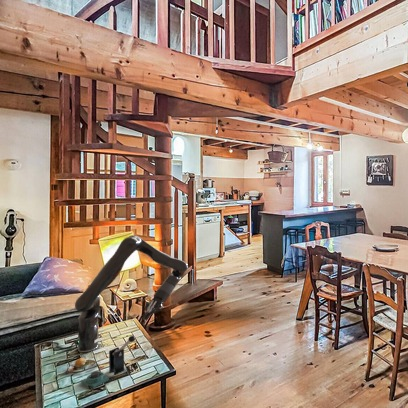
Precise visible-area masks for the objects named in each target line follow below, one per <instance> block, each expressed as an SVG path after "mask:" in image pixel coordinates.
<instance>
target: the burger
mask: <svg viewBox="0 0 408 408" xmlns="http://www.w3.org/2000/svg"><path fill="white" fill-rule="evenodd" d="M91 364H93V365H92V366H90V367H88V368H86V367H87V366H89V365H91ZM96 364H97V362H96V360H95V359H86V358H83V357H79V358H77V359H76V360H75V362H74V363H72V364H70V365H69V366H68V367H67V369H66V373H67V374H77V373H81V372H84V371H85V372H86V371H88V370H89V369H91V368H93V367H94V366H95V365H96ZM81 369H82V370H81ZM77 370H79V371H77Z"/></svg>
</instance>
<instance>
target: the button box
mask: <svg viewBox="0 0 408 408" xmlns="http://www.w3.org/2000/svg"><path fill="white" fill-rule="evenodd" d="M108 381H110V378H109V377H108V376H105V375H104V372H102V371H100V376H99V377H97V378H91V374H89V375H88V376H87V377H85V378H83V379H82V380H80V383H81V384H83V385H85V386H89V387H90V388H93V389H94V388H97V387H99V386H100V385H102V384H104V383H106V382H108Z"/></svg>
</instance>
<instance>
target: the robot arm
mask: <svg viewBox="0 0 408 408" xmlns="http://www.w3.org/2000/svg"><path fill="white" fill-rule="evenodd" d="M136 251H137V252H139V253H142V254H144V255H146V256H147V257H149V259H151V260H152V261H153V262H155V263H156V264H158V265H160V266H162V267H164V268H167V269H168V268H170V269H171V270H172V271H171V272H170V274H169V275H168V276H167V277H166V279H164V281H163V283H161V285H160V286H159V288H157V290H156V291H155V293H154V294H153V298H152V299H150V301H146V302H145V307H144V311H145V313H144V315H143V316H142V320H144V321H148V320H149V319H150V317H151V316H152V315H155V314H157V313H158V312H160V311H162V310H163V309H164V308H165V306H164V303H165V302H166V301H168V299H169V297H170V296H171V294H172V293H173V292H174V290H175V288H176V286H177V285H178V283H179V282H180V280H181V279H182V278H183V276H184V275H185V274H186V272H187V270H188V268H189V265H188V263H187V262H186V261H184V260H182V259H179V258H176V257H172V256H171V255H170V254H167V253H165V252H163V251H161V250H159V249H157V248H156V247H154V246H153V245H152V244H150V243H148V242H147V241H146V240H144V239H143V238H141V237H140V236H138V235H135V234H133V235H129V236H127V237H125V238H123V239H122V240H121V242H120V243H119V245H118V247H117V249H116V250H115V252H114V254H113V255H112V256H111V257H110V258H109V259H108V261H107V262H106V263H104V265H103V266H102V268H101V269H100V270H99V272H98V273H97V274H96V276H95V277H94V278H93V280H92V281H91V283H90V284H89V286H88V287H87V288H86V289H85V290H84V292H83V293H82V294H80V295H79V297H78V298H76V300H75V302H74V309H75V310H76V311H77V312H80V314H79V316H78V318H77V328H78V329H77V331H78V333H77V339H74V341H73V342H72V343H71V344H70V346H67V347H63V346H60V343H59V342H57V341H45V342H41V343H39V344H37V345H36V346H35V347H36V348H38V347H40V346H42V345H46V344H54V345H56V349H60V350H67V349H71V348H72V347H73V346H77V351H78V353H88V352H92V351H94V350H96V349H98V348H99V341H100V337H99V315H100V312H101V298H100V295H101V294H102V293H103V292H104V291H105V290H106V289H107V288H108V287H109V286H110V285H111V284H112V283H113V282H114V281H115V280H116V279H117V277H118V276H119V274H120V273H121V272H122V271H123V270H122V269H123V267H124V265H125V263H126V262H127V260H128V259H129V258H130V257H131V255H132V254H133V253H135V252H136Z"/></svg>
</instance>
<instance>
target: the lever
mask: <svg viewBox="0 0 408 408" xmlns="http://www.w3.org/2000/svg"><path fill="white" fill-rule="evenodd" d="M135 341H136V336H135V335H130V336H129V337H128V339H127V341H125V343H124V344H122V346H121V347H119V350H121V349H124V350H125V349H126V348H127V346H128V345H130V343H134V342H135ZM119 350H117V349H116V350H115V351H114V352H117V351H119ZM114 352H113V353H112V355H113V356H114Z"/></svg>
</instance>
